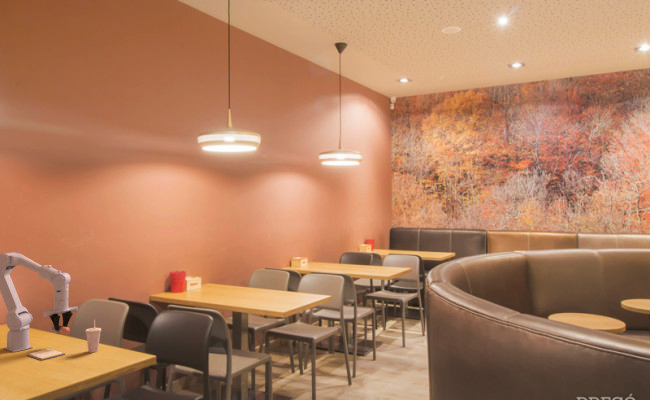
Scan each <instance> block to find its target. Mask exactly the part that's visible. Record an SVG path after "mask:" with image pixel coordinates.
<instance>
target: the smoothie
mask: <svg viewBox="0 0 650 400" xmlns="http://www.w3.org/2000/svg"><path fill="white" fill-rule="evenodd" d="M84 332H85V334H86V335H85V336H86V341H87V344H86V345H87V350H88V353H91V354H93V353H97V352H98V351H99V347H100V346H99V345H100V340H101V339H100V338H101V332H102V327H96V319H93V327H91V328H87V329H85V331H84Z"/></svg>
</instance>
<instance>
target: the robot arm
mask: <svg viewBox="0 0 650 400" xmlns="http://www.w3.org/2000/svg"><path fill="white" fill-rule="evenodd" d="M17 266H21V267H23V268H27V269H29V270H31V271H34V272H36V273H37V275H38V277H40V278H41V279H44V280H46V281H48V282H50V283H51V284H52V285H53V288H54V289H53V291H54V293H53V309H50V310H47V311H43V312H42V317H49V318H50V320H51V321H52V324H53V325H52V326H54V328H55V330H56V331H58V330H59V325H60V319H61V316H62V326H64V327H68V325H69V322H70V320H71V318H72V317H73V312H78V311H79V306H69V296H70V295H69V292H70V291H69V290H70V289H69V288H70V287H69V284H70V283H71V281H72V277H71V275H70V274H69V273H68V272H67V271H64V272H62V270H60V269H59V270H58V269H56V268H54V267H53V265H50V264H49V265H48V264H45V265H41V264H40V263H38V262H36V261H33V260H32V259H30V257H27V256H25V255H24V254H22V253H19V252H17V251H11V252H5V253H3V252H2V253H0V294H1V297H2V298H3V301H4V303H5V306H6V309H7V314H6V316H5V318H6V327H7V328H8V330H9V331H8V332H7V334H6V347H4V350H7V351H9V352H13V353H16V352H19V351H23V350H29V349H33V348H34V346H33V345H30V325H31V324H32V323H33V318H34V317H33V315H32V314H31V312H29V311H28V308H27V307H25V306H24V305H23V304H22V302H21V300H20V297H19V295H18V292H17V290H16V287H15V285H14V283H13V282H14V281H13V279H12V277H11V275H10V274H11V272H12V271H13V269H14V268H16V267H17ZM60 314H61V315H60Z"/></svg>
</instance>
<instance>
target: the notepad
mask: <svg viewBox="0 0 650 400" xmlns="http://www.w3.org/2000/svg"><path fill="white" fill-rule="evenodd" d="M26 356H28V357H30V358H32V359H36V360H39V361H46V360H51V359H54V358H57V357H62V356H66V353H64V352H61V351H58V350H56V349H52V348H47V349H43V350H39V351H34V352H30V353H28V354H26Z"/></svg>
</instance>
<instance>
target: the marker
mask: <svg viewBox="0 0 650 400" xmlns="http://www.w3.org/2000/svg"><path fill="white" fill-rule="evenodd" d="M51 331H53V332H55V333H59V334H63V335H68V334H69V333H70V332H71V330H70V327H68V326H67V327H64V326H63V325H60V324H59V330H58V331H56V330H55V328H54V325H52V327H51Z"/></svg>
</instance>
